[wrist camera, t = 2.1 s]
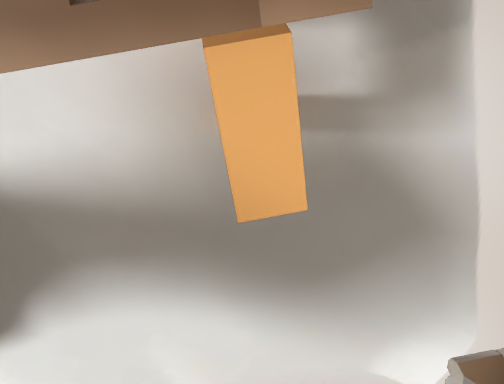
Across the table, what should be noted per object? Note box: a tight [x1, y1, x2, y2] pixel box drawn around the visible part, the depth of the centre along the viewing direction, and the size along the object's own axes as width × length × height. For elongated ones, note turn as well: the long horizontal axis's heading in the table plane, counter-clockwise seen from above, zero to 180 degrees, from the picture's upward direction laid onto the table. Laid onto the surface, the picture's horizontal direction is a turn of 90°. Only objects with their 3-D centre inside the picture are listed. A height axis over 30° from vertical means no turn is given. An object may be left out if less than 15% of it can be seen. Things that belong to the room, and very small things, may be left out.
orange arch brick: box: [202, 23, 308, 223], centre depth 29 cm, size 10×4×12 cm, turn 8°
